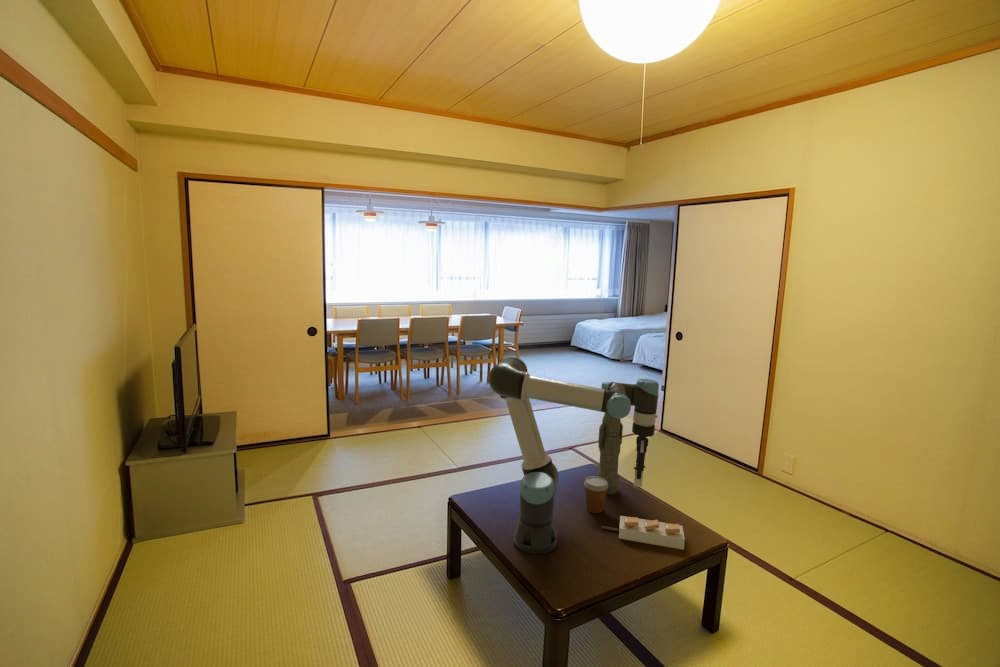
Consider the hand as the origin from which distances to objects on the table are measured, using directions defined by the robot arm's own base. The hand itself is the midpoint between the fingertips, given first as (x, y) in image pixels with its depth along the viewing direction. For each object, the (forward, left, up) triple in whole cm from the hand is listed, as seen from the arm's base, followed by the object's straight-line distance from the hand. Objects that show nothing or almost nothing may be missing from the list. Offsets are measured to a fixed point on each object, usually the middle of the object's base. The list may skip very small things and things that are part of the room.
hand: (637, 485), depth 170 cm
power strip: (+2, -1, -19) cm, 19 cm away
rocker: (+10, -8, -14) cm, 19 cm away
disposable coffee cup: (-6, +20, -19) cm, 28 cm away
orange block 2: (+4, -4, -14) cm, 15 cm away
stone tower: (+7, +34, -19) cm, 40 cm away
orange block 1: (-2, 0, -14) cm, 14 cm away
